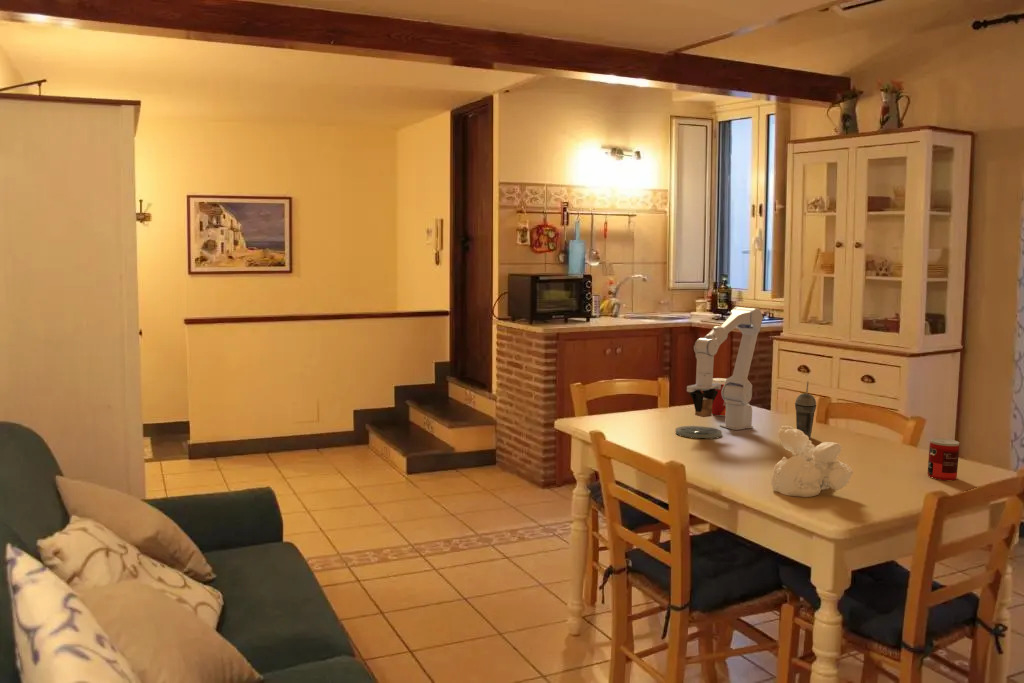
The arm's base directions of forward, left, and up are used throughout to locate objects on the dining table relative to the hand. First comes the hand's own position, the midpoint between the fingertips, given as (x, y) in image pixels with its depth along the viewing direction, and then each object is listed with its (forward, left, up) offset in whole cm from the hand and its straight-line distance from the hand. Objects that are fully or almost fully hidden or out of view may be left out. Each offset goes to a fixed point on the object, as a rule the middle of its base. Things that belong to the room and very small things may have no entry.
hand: (702, 410), depth 319 cm
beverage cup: (-29, +20, -9) cm, 37 cm away
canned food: (-23, +76, -9) cm, 80 cm away
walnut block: (0, 0, -2) cm, 2 cm away
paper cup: (-31, -23, -9) cm, 40 cm away
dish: (+1, -1, -8) cm, 8 cm away
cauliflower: (+24, +67, -9) cm, 71 cm away
